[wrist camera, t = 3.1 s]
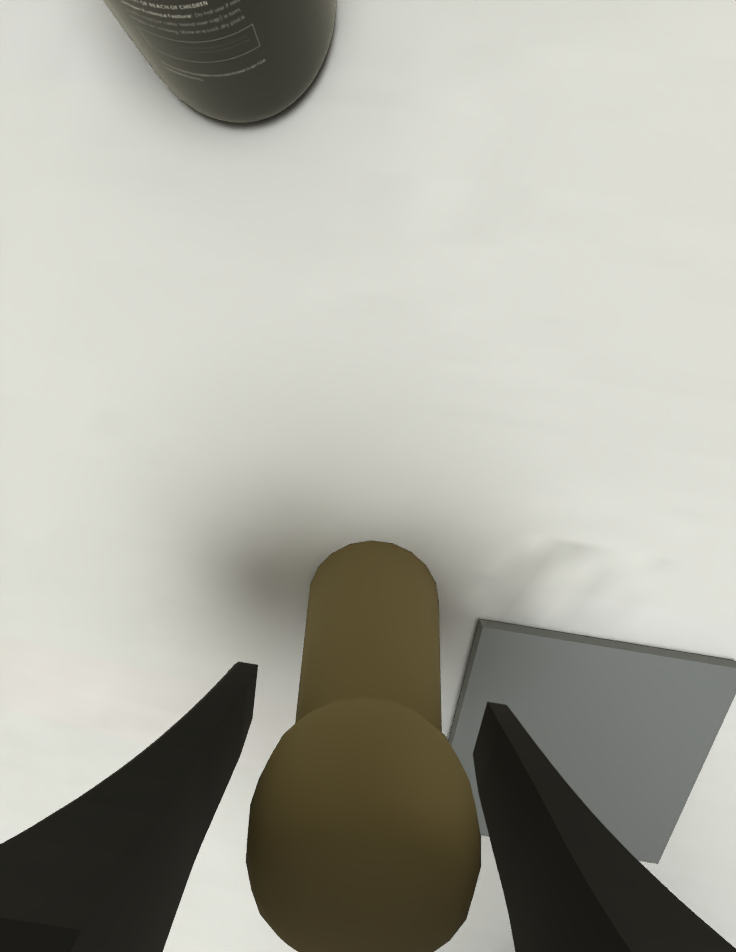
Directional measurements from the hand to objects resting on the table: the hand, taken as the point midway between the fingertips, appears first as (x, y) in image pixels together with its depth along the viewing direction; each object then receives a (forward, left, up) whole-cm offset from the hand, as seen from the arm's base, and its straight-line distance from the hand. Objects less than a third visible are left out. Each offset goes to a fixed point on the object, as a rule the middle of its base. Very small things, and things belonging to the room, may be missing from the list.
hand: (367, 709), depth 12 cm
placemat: (-6, -11, -6) cm, 14 cm away
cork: (0, 0, -6) cm, 6 cm away
